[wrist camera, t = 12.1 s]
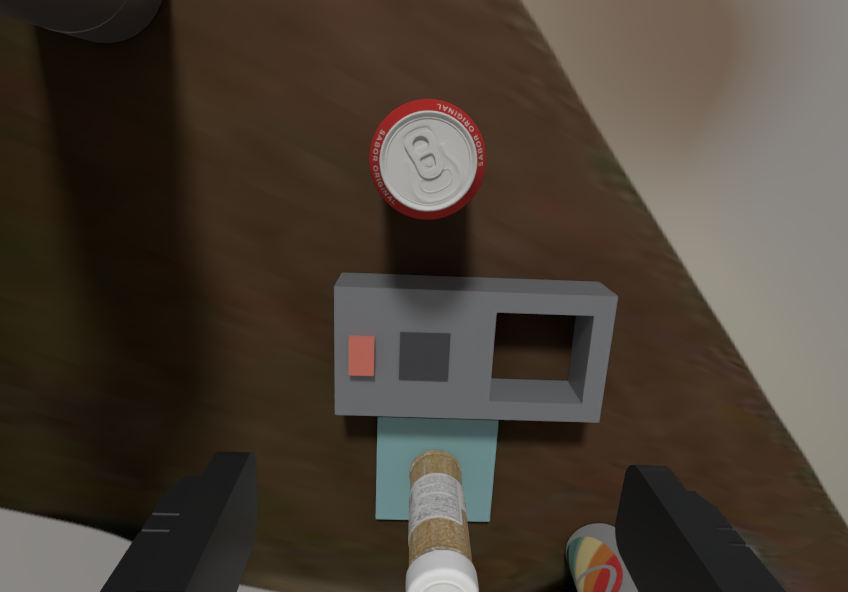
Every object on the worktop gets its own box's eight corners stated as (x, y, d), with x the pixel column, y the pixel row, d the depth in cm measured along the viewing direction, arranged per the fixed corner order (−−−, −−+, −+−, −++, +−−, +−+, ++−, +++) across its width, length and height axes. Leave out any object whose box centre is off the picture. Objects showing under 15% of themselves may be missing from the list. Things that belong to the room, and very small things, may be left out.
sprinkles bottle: (452, 498, 46) (466, 638, 34) (401, 485, 46) (396, 622, 33) (468, 454, 45) (489, 581, 32) (416, 441, 45) (417, 565, 32)
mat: (376, 514, 47) (375, 519, 47) (378, 413, 45) (377, 417, 44) (488, 517, 48) (489, 521, 47) (497, 417, 45) (498, 420, 44)
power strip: (342, 390, 44) (333, 419, 39) (341, 272, 41) (332, 289, 37) (583, 397, 44) (602, 427, 40) (599, 281, 42) (621, 299, 37)
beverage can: (481, 176, 39) (509, 193, 28) (403, 212, 40) (399, 243, 28) (446, 93, 38) (460, 73, 26) (366, 132, 38) (344, 130, 27)
